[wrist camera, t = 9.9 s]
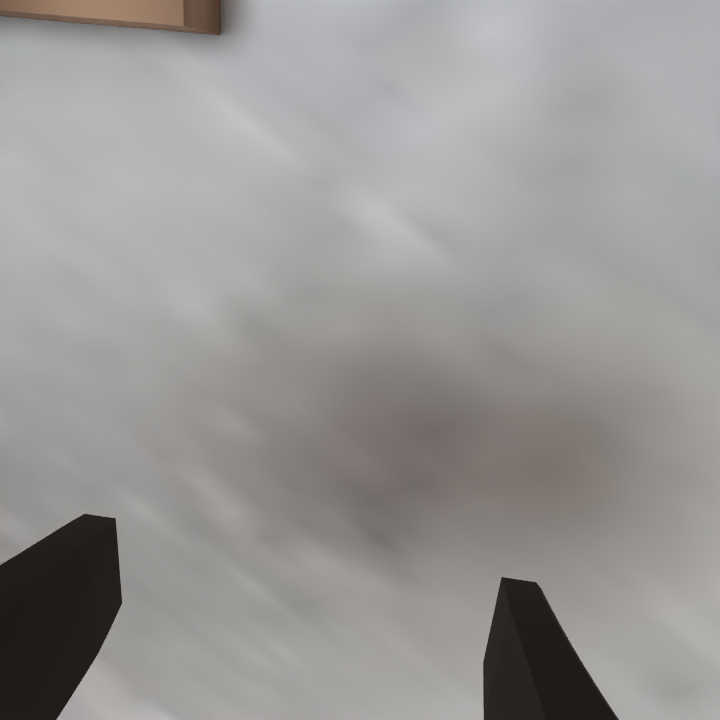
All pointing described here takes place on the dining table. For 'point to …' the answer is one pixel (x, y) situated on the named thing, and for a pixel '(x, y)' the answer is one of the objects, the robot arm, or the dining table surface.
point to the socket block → (123, 13)
